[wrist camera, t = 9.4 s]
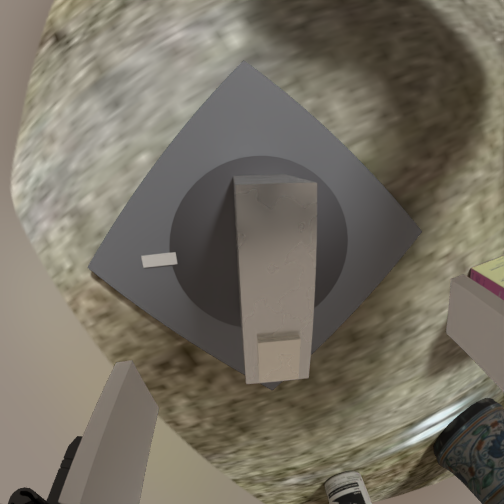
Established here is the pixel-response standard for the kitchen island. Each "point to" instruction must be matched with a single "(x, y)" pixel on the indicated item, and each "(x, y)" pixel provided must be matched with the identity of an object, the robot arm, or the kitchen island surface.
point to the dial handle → (276, 274)
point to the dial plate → (223, 218)
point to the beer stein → (476, 450)
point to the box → (490, 276)
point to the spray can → (347, 489)
